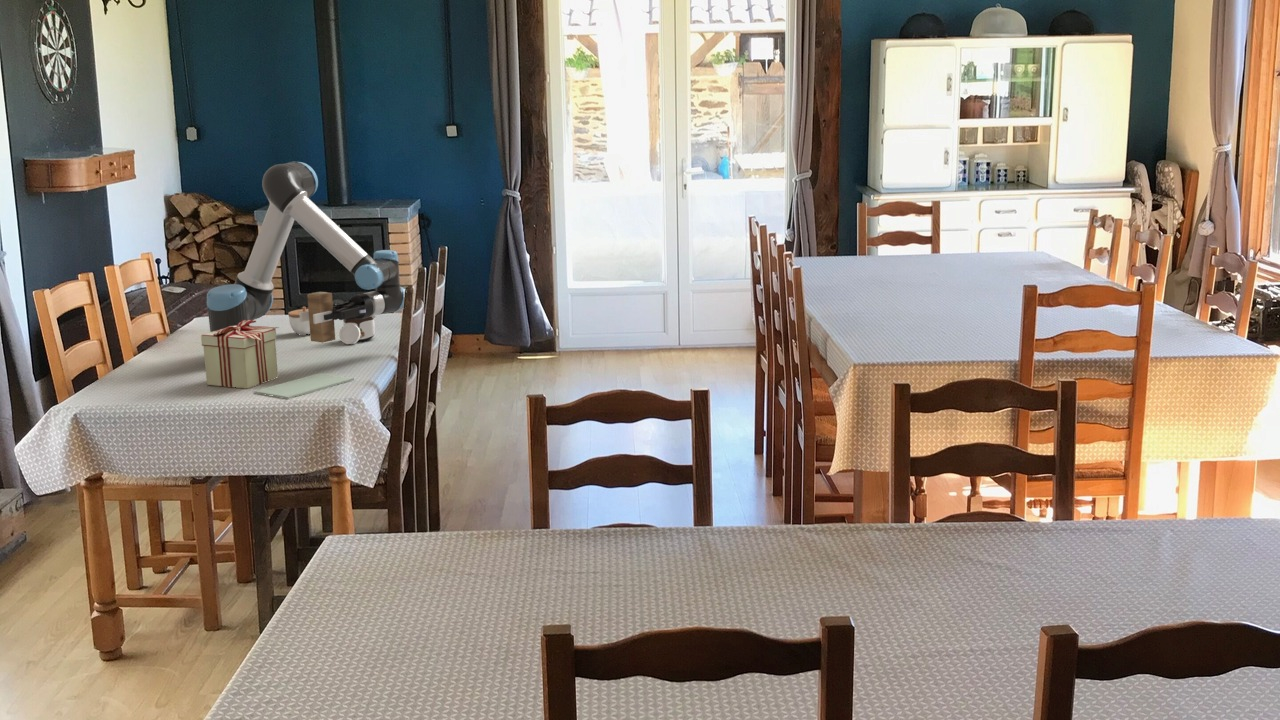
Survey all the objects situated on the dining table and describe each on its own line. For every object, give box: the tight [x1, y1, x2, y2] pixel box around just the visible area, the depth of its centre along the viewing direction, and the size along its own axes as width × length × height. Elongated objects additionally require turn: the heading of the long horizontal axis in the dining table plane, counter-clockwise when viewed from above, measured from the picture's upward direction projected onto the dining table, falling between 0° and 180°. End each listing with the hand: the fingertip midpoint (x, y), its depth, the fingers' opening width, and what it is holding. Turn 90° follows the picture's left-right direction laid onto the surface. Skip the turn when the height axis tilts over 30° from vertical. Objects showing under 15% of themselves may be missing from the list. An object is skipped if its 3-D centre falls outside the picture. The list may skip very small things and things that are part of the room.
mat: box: [254, 372, 355, 399], centre depth 346 cm, size 24×14×1 cm, turn 146°
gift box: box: [200, 320, 280, 389], centre depth 353 cm, size 17×18×17 cm
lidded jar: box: [287, 306, 310, 336], centre depth 421 cm, size 11×11×9 cm
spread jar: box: [338, 317, 376, 345], centre depth 405 cm, size 12×11×12 cm
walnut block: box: [306, 291, 336, 344], centre depth 361 cm, size 5×5×14 cm
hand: (307, 318), depth 357 cm, fingers closed on walnut block, 5 cm apart
